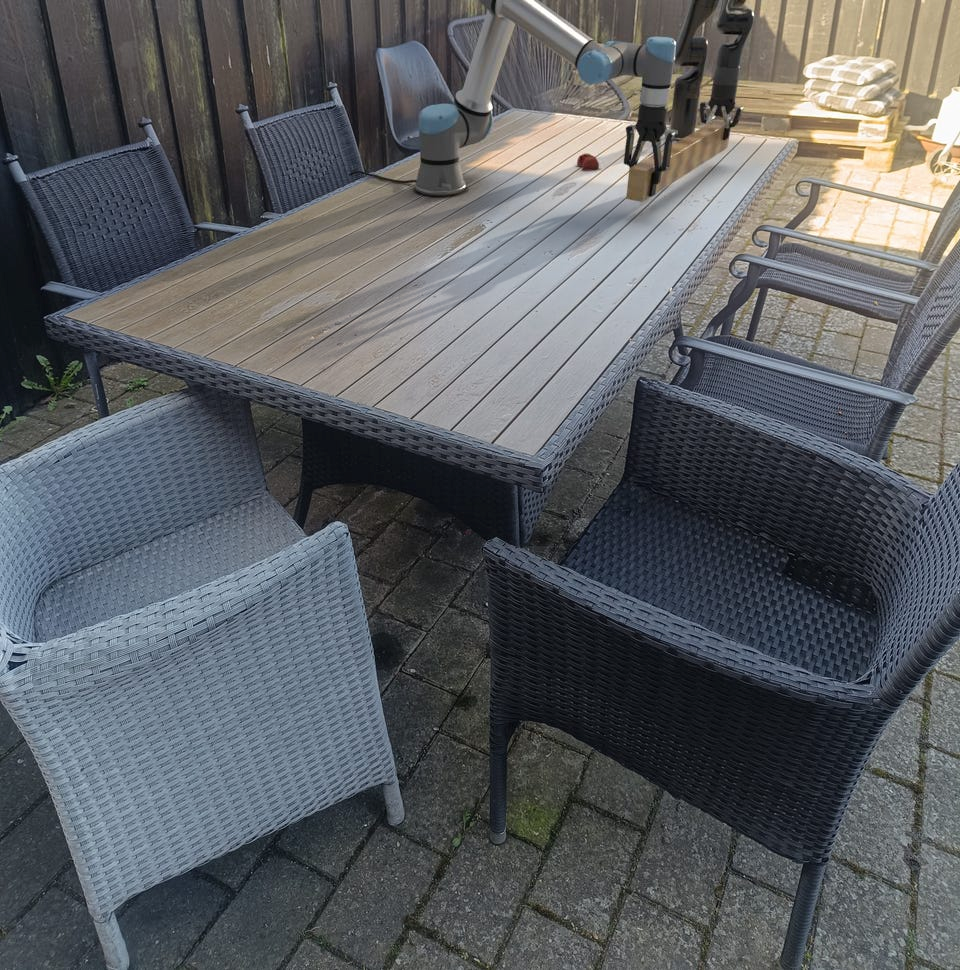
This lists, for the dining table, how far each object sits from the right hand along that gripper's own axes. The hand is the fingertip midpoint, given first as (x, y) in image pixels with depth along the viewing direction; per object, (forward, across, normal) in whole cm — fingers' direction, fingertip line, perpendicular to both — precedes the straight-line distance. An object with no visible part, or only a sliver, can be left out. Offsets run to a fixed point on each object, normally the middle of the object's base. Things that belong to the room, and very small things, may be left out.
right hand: (716, 138), depth 272 cm
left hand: (+3, 0, +57) cm, 57 cm away
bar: (+4, 0, +29) cm, 29 cm away
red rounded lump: (+10, +35, +21) cm, 42 cm away
